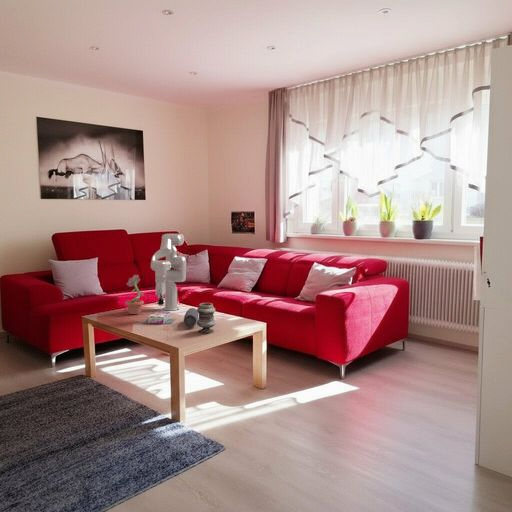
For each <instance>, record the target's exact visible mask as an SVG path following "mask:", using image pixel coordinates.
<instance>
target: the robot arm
mask: <svg viewBox="0 0 512 512" xmlns="http://www.w3.org/2000/svg"><path fill="white" fill-rule="evenodd" d="M184 236H185V235H184V234H182V233H165V234H162V236H161V243H160V247H159V248H160V249H158V250H157V251H156V252H155V253H154V254H153V255H152V257H151V261H150V269H151V270H152V271H154V272H155V277H154V279H155V281H154V282H155V296H157V298H158V305H159V306H163V305H164V307H163V308H162V310H163V309H164V310H163V311H167V310H173V311H177V310H176V309H178V310H180V307H179V306H178V287H177V284H176V283H178V282H179V283H180V282H181V283H183V282H185V281H186V278H187V260H186V257H185V256H183V255H178V249H177V248H176V246H182V245H183V244H184V242H185V237H184ZM162 258H165V260H162ZM160 259H161V260H160ZM175 282H176V283H175Z"/></svg>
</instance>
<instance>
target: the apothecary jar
mask: <svg viewBox="0 0 512 512" xmlns="http://www.w3.org/2000/svg"><path fill="white" fill-rule="evenodd" d="M196 310H197V312H198V320H197V322H196V325H197V326H198V327H200V329H199V330H198V333H200V334H212V333H214V329H213V327H214V326H215V325H216V320H215V318H214V317H215V316H214V313H215V312H216V308H215V307H214V305H213V303H211V302H202V303H199V305H198V307H197V308H196Z"/></svg>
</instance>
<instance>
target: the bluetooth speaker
mask: <svg viewBox="0 0 512 512" xmlns="http://www.w3.org/2000/svg"><path fill="white" fill-rule="evenodd" d="M198 320H199V313H198V312H197V308H194V307H190V308H189V309H188V310H186V311H185V313H184V316H183V323H184V324H183V325H185V327H188V328H193V327H194V326H195V325H197V321H198Z"/></svg>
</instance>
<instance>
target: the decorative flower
mask: <svg viewBox="0 0 512 512" xmlns="http://www.w3.org/2000/svg"><path fill="white" fill-rule="evenodd" d="M140 281H141V278H140V276H139V274H134V275H133V276H132V277H129V278H128V282H126V283H125V284H126V286H128V288H129V287H133V286H134V289H132V291H131V293H134V292H135V291H136V293H137V296H136V297H134V298H133V299H131V300H127V301H125V302H124V305H125V306H127V309H128V314H129V315H130V314H137V315H140V314H141V312H142V305H144V304H145V301H143V300H142V299H140V297H141V296H145V294H144V293H143V292H141V291H140V290H139V287H138V286H137V285H138V284H139V282H140Z"/></svg>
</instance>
